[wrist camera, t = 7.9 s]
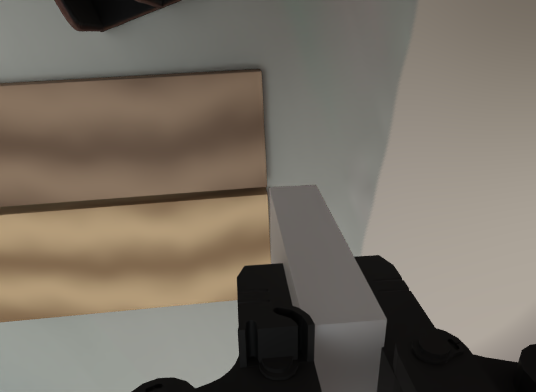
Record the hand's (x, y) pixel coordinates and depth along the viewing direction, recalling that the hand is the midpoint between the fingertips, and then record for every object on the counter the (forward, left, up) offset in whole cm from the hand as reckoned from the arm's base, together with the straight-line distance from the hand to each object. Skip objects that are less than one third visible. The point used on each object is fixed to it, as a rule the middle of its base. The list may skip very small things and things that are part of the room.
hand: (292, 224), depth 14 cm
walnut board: (+2, -11, -22) cm, 25 cm away
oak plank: (+12, -11, -22) cm, 28 cm away
